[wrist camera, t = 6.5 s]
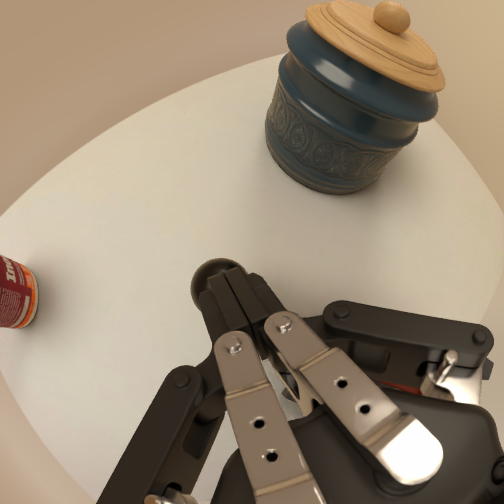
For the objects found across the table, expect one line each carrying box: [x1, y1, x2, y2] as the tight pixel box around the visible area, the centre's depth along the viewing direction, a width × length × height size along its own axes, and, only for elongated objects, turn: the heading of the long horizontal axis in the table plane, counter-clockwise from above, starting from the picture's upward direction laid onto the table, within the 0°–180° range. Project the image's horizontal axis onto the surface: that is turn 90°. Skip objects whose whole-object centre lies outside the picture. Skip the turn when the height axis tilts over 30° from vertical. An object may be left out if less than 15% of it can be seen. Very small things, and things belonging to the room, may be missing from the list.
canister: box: [265, 0, 445, 194], centre depth 18 cm, size 13×13×18 cm
